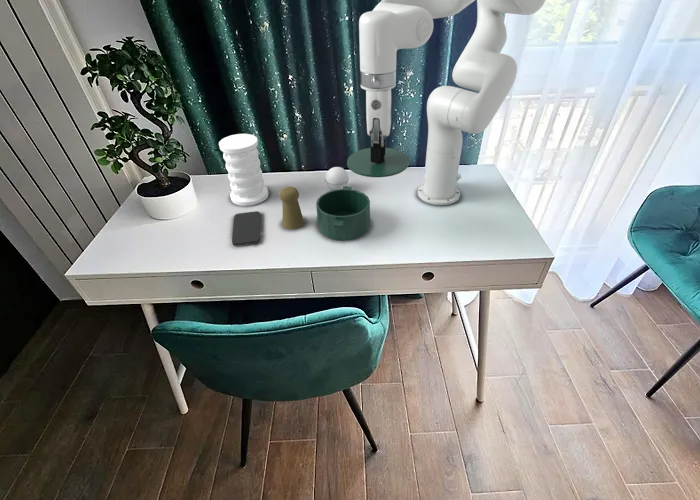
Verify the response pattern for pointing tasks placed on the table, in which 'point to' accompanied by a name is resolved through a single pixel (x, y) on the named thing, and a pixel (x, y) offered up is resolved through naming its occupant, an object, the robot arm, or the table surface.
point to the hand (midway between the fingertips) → (378, 157)
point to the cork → (291, 208)
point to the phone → (246, 228)
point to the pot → (343, 214)
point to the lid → (391, 165)
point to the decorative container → (244, 169)
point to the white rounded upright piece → (336, 178)
